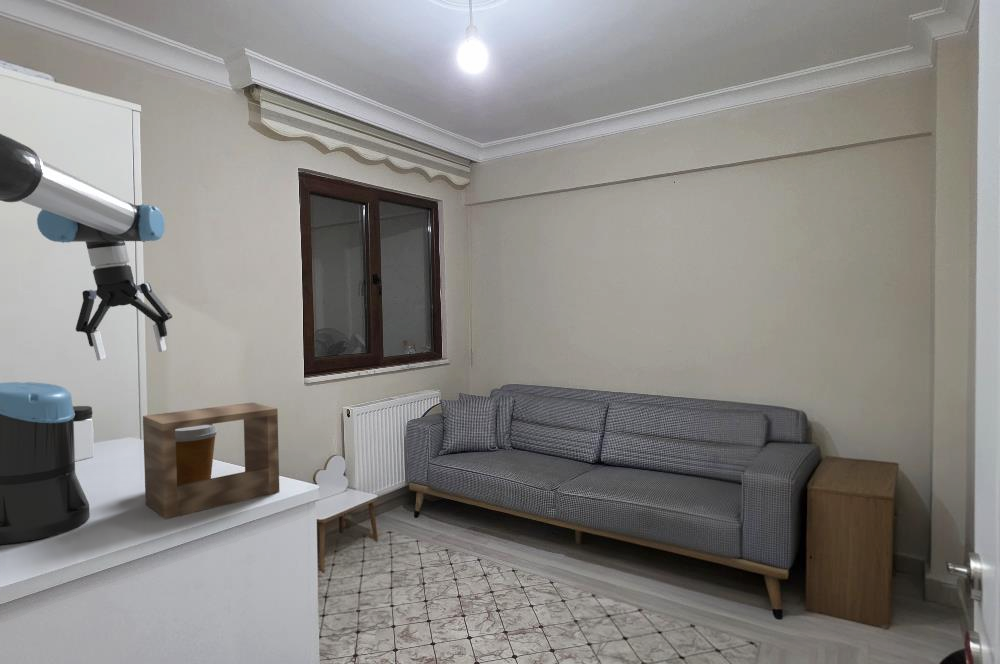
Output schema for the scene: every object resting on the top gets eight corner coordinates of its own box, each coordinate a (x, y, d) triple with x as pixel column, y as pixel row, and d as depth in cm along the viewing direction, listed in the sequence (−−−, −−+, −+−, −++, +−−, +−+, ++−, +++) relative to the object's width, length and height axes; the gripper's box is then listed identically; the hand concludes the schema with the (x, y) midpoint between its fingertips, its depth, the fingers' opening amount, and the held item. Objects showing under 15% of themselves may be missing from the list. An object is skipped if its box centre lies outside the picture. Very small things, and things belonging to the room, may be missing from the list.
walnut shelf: (165, 519, 99) (161, 423, 98) (145, 504, 107) (142, 415, 106) (279, 491, 113) (277, 408, 113) (255, 480, 121) (253, 402, 120)
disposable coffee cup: (229, 482, 120) (227, 424, 119) (185, 495, 111) (183, 433, 111) (199, 476, 124) (198, 420, 124) (155, 488, 116) (153, 428, 115)
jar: (95, 459, 140) (93, 409, 139) (52, 465, 135) (50, 413, 134) (92, 452, 147) (90, 404, 146) (51, 457, 142) (49, 408, 141)
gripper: (174, 258, 141) (193, 344, 145) (62, 272, 138) (84, 359, 141) (161, 259, 134) (181, 350, 137) (42, 274, 130) (67, 366, 134)
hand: (132, 355), depth 139 cm, fingers open, 13 cm apart
